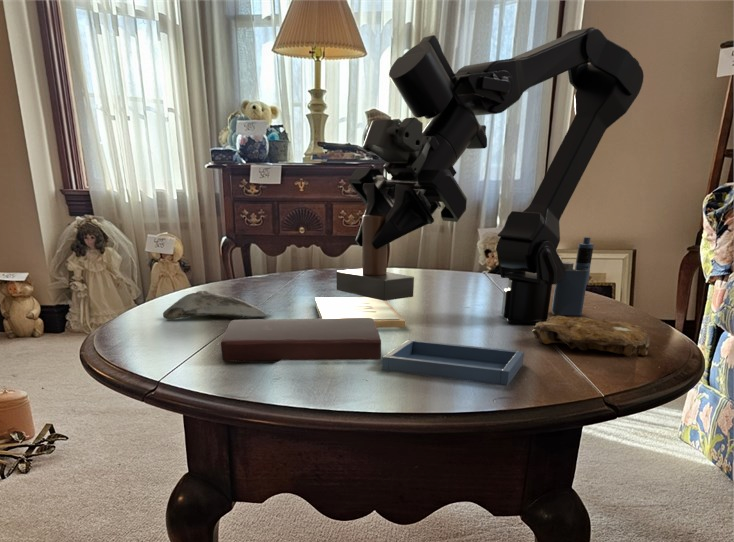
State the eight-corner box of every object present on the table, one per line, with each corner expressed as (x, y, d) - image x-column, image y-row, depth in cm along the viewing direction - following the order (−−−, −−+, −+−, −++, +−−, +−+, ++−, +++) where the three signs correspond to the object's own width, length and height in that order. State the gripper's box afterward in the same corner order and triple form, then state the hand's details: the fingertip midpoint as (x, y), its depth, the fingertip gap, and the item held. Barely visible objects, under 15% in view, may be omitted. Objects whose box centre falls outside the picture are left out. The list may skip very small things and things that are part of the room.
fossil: (256, 302, 98) (161, 288, 99) (253, 333, 100) (160, 319, 101) (275, 299, 109) (189, 286, 110) (273, 327, 110) (188, 314, 111)
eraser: (336, 290, 89) (335, 214, 84) (364, 286, 92) (365, 212, 87) (384, 301, 82) (386, 218, 77) (413, 296, 85) (416, 217, 80)
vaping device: (584, 316, 108) (597, 238, 103) (553, 315, 108) (564, 238, 103) (580, 313, 111) (592, 237, 105) (549, 312, 111) (560, 236, 105)
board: (315, 306, 113) (315, 297, 113) (383, 305, 115) (383, 296, 114) (324, 331, 96) (324, 320, 95) (405, 330, 97) (405, 319, 97)
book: (381, 363, 80) (381, 336, 79) (222, 364, 79) (219, 337, 77) (372, 340, 91) (372, 316, 90) (232, 340, 90) (230, 316, 88)
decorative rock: (531, 358, 85) (651, 369, 82) (536, 327, 83) (660, 337, 80) (527, 334, 94) (635, 343, 92) (532, 305, 92) (643, 314, 90)
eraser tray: (381, 373, 76) (382, 356, 75) (408, 355, 84) (408, 339, 83) (506, 389, 71) (508, 371, 70) (522, 367, 79) (524, 351, 78)
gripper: (361, 99, 85) (289, 194, 85) (455, 87, 71) (371, 200, 71) (406, 167, 93) (341, 254, 92) (500, 168, 79) (424, 270, 78)
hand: (365, 245), depth 83 cm, fingers closed on eraser, 3 cm apart
